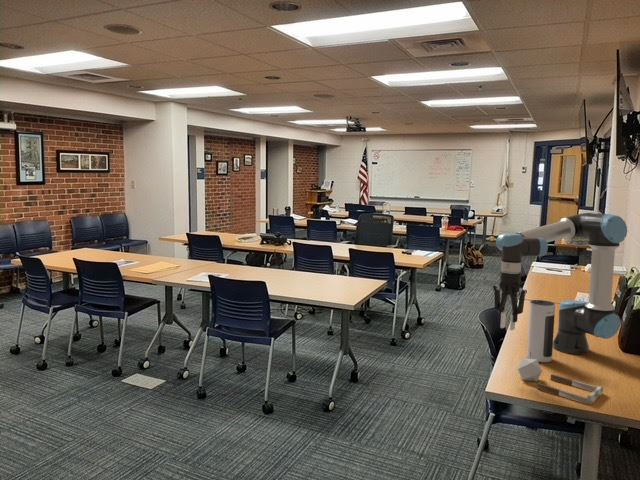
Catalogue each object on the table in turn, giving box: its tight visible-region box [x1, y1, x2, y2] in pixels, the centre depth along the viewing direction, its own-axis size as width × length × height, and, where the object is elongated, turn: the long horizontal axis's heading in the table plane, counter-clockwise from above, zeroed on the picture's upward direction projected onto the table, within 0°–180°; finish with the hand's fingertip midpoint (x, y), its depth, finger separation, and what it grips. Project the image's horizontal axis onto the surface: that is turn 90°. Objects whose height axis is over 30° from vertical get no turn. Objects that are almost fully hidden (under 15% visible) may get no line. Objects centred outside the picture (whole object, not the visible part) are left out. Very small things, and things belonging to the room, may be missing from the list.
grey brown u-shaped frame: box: [536, 373, 604, 406], centre depth 184 cm, size 14×18×3 cm
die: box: [517, 357, 543, 382], centre depth 195 cm, size 8×9×10 cm
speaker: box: [526, 299, 556, 363], centre depth 217 cm, size 11×10×26 cm
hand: (507, 328), depth 200 cm, fingers open, 3 cm apart
